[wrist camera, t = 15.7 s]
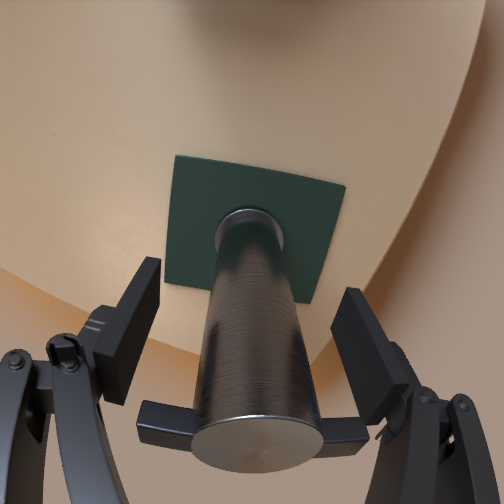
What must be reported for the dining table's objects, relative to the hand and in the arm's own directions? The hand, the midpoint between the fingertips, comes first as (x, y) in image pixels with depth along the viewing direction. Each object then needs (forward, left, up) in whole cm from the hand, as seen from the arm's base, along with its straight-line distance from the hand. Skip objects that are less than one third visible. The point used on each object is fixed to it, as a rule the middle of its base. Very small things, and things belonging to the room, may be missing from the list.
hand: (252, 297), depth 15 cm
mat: (0, 0, -8) cm, 8 cm away
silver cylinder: (0, 0, -8) cm, 8 cm away
